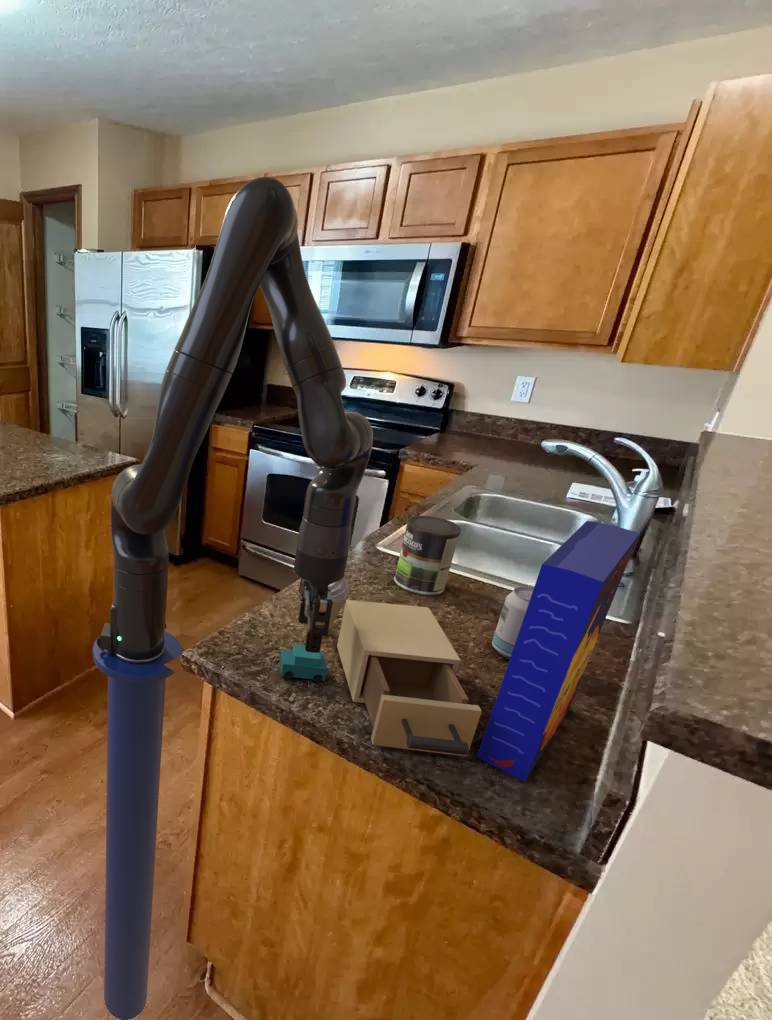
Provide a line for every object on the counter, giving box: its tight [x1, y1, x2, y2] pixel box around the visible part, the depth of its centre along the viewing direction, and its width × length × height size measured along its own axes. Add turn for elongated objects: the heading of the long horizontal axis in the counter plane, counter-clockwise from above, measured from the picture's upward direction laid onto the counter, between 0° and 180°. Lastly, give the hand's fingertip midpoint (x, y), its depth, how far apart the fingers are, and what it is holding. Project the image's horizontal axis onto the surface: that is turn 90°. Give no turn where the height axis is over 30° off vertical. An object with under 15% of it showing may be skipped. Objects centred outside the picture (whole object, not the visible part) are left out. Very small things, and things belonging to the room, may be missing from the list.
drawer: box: [361, 655, 483, 758], centre depth 85 cm, size 20×12×8 cm, turn 171°
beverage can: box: [491, 586, 534, 660], centre depth 104 cm, size 7×7×12 cm
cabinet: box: [336, 599, 462, 704], centre depth 97 cm, size 16×14×10 cm
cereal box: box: [476, 520, 641, 783], centre depth 81 cm, size 22×6×30 cm, turn 133°
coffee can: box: [393, 515, 462, 596], centre depth 127 cm, size 10×10×14 cm
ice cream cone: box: [328, 573, 351, 633], centre depth 108 cm, size 5×5×15 cm
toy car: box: [279, 644, 328, 683], centre depth 99 cm, size 4×7×4 cm, turn 81°
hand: (308, 636), depth 97 cm, fingers open, 8 cm apart
